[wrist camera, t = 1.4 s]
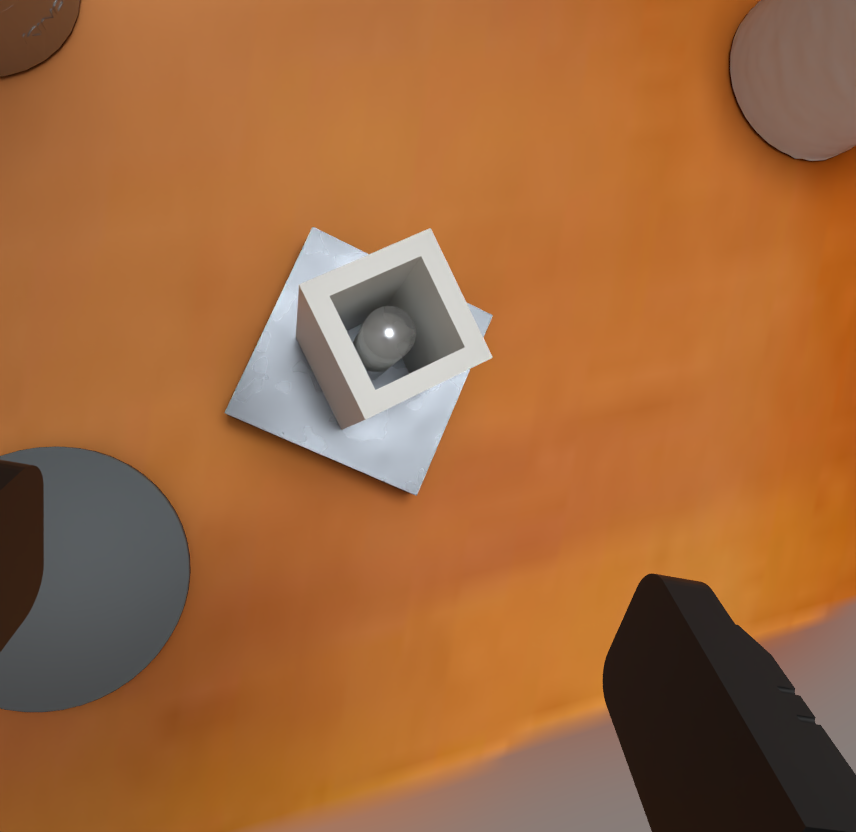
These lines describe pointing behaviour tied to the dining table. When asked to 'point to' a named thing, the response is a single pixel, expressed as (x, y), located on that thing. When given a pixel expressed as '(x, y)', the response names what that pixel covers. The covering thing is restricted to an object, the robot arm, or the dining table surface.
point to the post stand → (382, 358)
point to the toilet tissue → (798, 75)
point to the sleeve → (373, 288)
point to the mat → (95, 582)
